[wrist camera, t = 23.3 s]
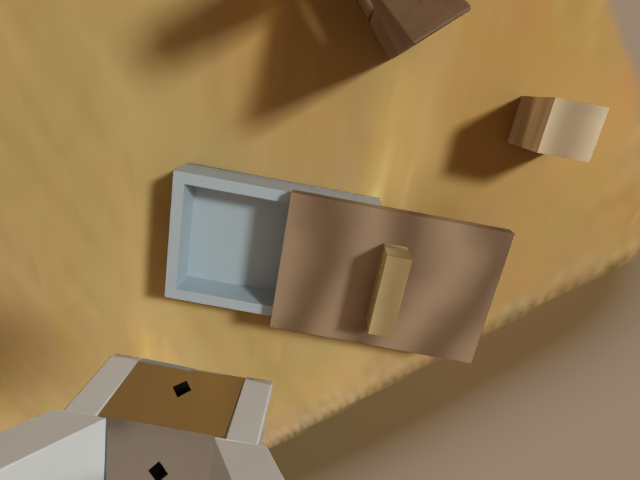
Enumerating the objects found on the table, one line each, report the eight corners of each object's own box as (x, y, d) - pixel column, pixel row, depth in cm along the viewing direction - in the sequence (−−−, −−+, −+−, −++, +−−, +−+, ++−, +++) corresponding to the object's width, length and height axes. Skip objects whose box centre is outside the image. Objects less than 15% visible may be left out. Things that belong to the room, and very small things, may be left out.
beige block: (506, 142, 40) (537, 152, 34) (521, 96, 38) (555, 97, 32) (551, 150, 40) (589, 162, 34) (566, 104, 39) (609, 107, 32)
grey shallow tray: (179, 279, 45) (164, 296, 42) (188, 162, 42) (173, 170, 38) (353, 311, 46) (354, 331, 42) (379, 198, 42) (382, 209, 38)
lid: (271, 320, 42) (264, 344, 38) (292, 189, 38) (287, 201, 34) (467, 355, 42) (480, 383, 38) (509, 229, 38) (529, 246, 34)
